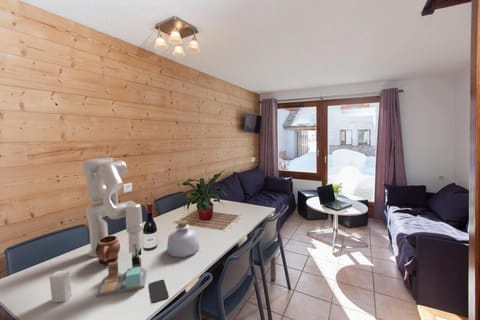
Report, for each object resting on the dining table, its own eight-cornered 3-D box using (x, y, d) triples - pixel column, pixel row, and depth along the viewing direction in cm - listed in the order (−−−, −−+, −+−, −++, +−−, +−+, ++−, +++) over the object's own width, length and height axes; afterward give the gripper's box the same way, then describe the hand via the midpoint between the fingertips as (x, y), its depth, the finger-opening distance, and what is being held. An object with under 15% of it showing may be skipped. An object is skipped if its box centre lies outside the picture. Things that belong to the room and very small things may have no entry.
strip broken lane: (107, 275, 117) (106, 263, 117) (120, 273, 119) (119, 261, 118) (104, 284, 111) (103, 270, 110) (118, 281, 112) (117, 268, 112)
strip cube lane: (131, 271, 121) (130, 259, 120) (143, 269, 122) (142, 257, 122) (126, 289, 106) (125, 275, 106) (140, 287, 108) (139, 273, 107)
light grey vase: (202, 243, 154) (202, 216, 152) (194, 258, 135) (193, 228, 133) (174, 242, 156) (173, 215, 154) (161, 257, 137) (160, 227, 135)
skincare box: (72, 295, 105) (70, 270, 104) (65, 302, 101) (63, 276, 99) (58, 295, 105) (56, 271, 103) (51, 302, 100) (48, 276, 99)
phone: (163, 278, 116) (169, 297, 102) (163, 280, 116) (169, 298, 102) (148, 283, 112) (151, 302, 99) (148, 285, 112) (151, 304, 99)
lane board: (104, 278, 117) (104, 274, 117) (146, 271, 123) (146, 267, 123) (96, 296, 104) (96, 292, 103) (144, 287, 110) (144, 283, 109)
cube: (128, 280, 112) (127, 268, 111) (141, 277, 114) (141, 266, 113) (126, 288, 106) (125, 275, 106) (140, 285, 108) (139, 273, 107)
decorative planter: (120, 268, 126) (118, 244, 124) (93, 274, 121) (91, 249, 119) (121, 252, 144) (120, 230, 142) (99, 256, 139) (97, 234, 137)
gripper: (129, 223, 125) (131, 253, 126) (123, 235, 108) (126, 270, 110) (144, 221, 127) (146, 250, 129) (140, 233, 111) (143, 267, 112)
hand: (137, 259), depth 119 cm, fingers open, 9 cm apart
